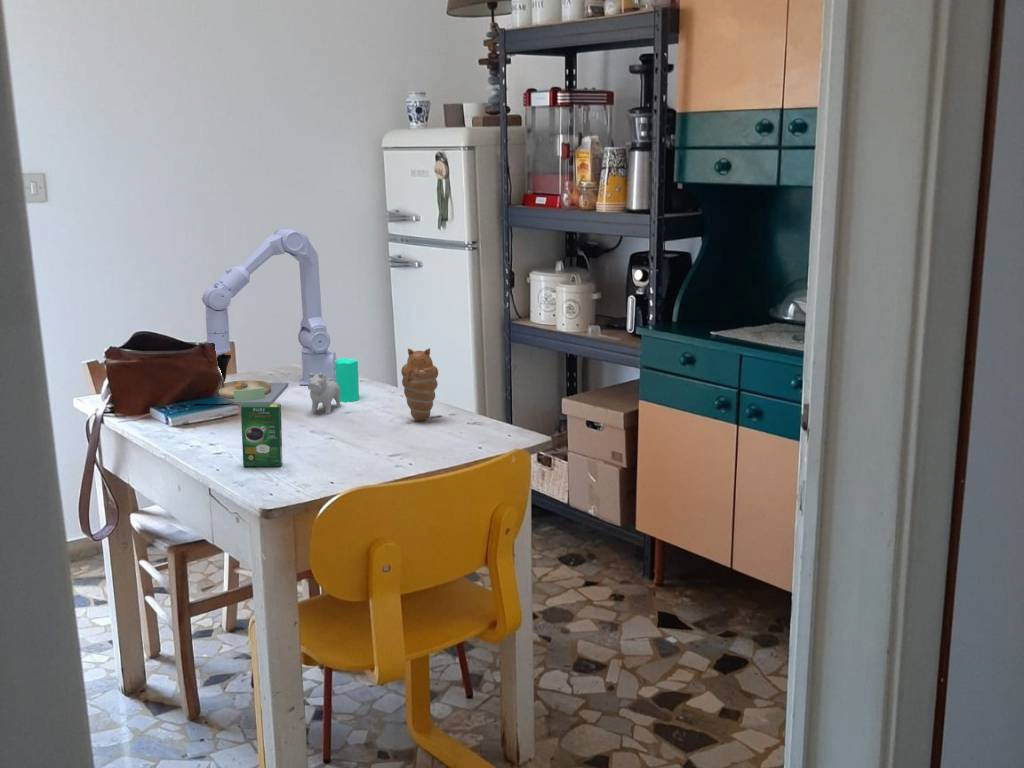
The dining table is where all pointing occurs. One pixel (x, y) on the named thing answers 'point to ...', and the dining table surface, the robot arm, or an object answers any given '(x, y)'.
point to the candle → (347, 379)
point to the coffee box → (261, 435)
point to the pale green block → (249, 394)
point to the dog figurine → (323, 392)
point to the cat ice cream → (419, 383)
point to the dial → (242, 387)
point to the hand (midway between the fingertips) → (220, 381)
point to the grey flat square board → (266, 395)
